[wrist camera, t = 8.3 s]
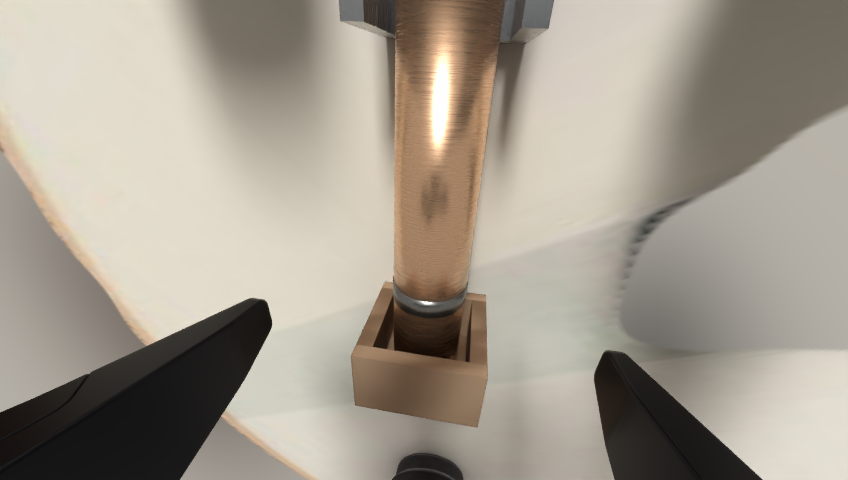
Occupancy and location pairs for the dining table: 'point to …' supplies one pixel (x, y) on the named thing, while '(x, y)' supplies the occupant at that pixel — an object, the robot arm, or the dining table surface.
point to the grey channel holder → (522, 21)
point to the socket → (422, 368)
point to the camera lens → (427, 468)
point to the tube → (439, 161)
